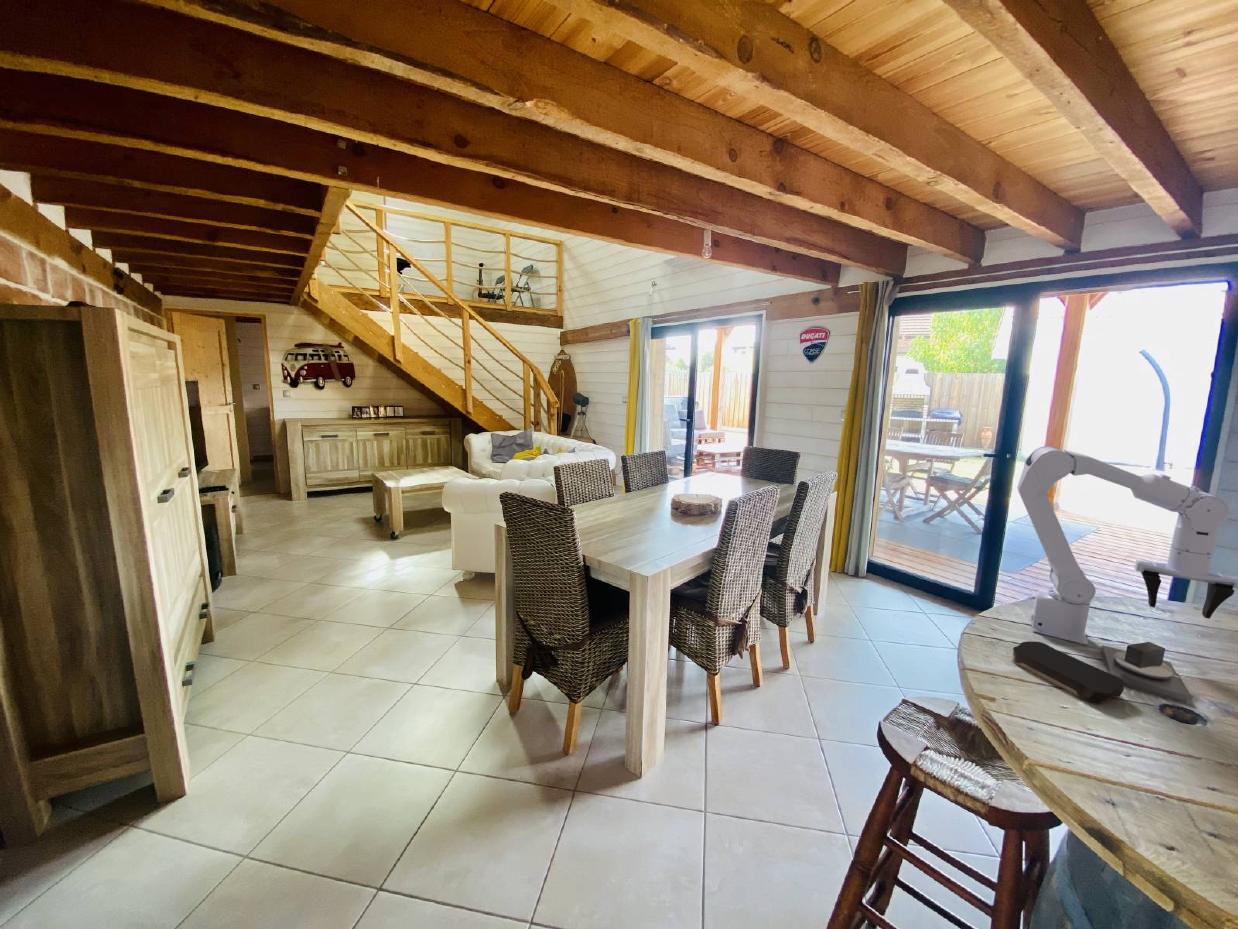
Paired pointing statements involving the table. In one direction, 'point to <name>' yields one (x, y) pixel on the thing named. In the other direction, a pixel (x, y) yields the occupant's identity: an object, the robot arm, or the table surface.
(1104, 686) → the dark scrub brush
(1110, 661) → the dial plate
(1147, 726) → the table surface
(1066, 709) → the table surface
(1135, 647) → the dial
